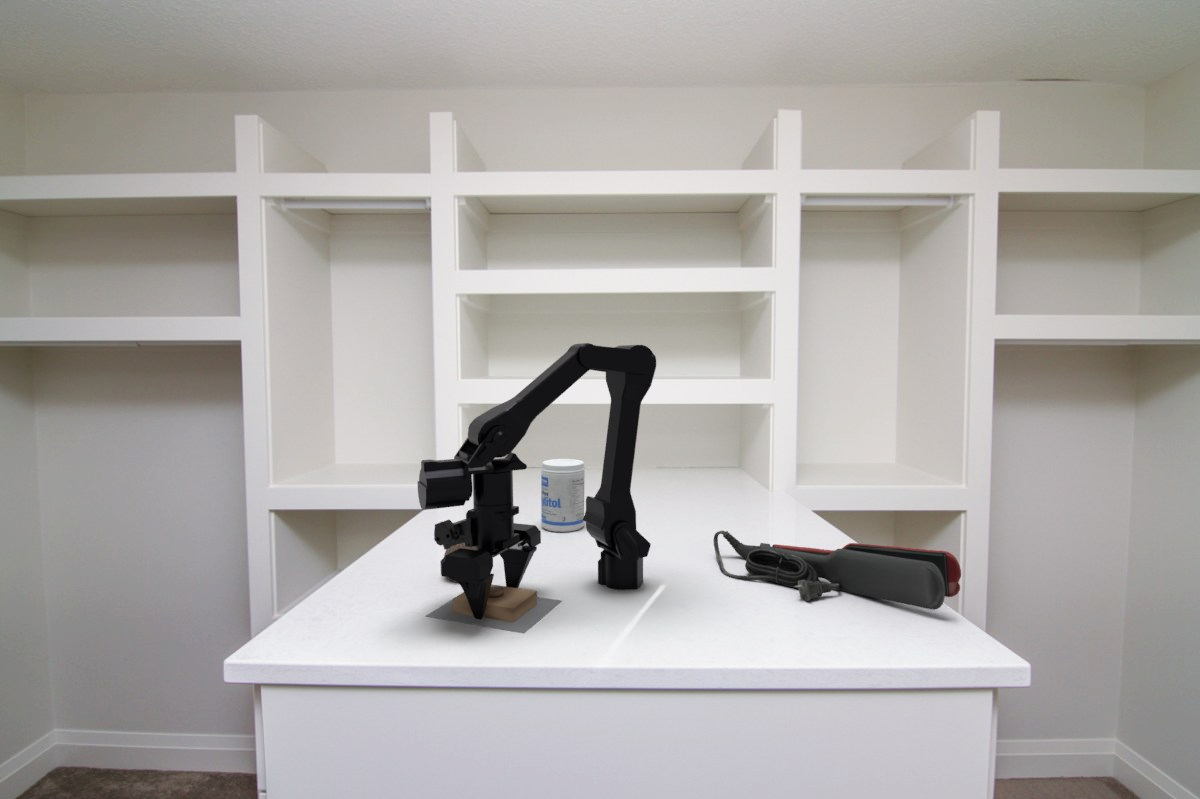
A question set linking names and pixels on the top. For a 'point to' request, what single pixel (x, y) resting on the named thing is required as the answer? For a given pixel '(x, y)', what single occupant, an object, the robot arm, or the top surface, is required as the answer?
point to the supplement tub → (562, 495)
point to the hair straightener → (853, 570)
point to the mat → (518, 626)
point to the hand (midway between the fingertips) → (495, 606)
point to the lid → (500, 603)
